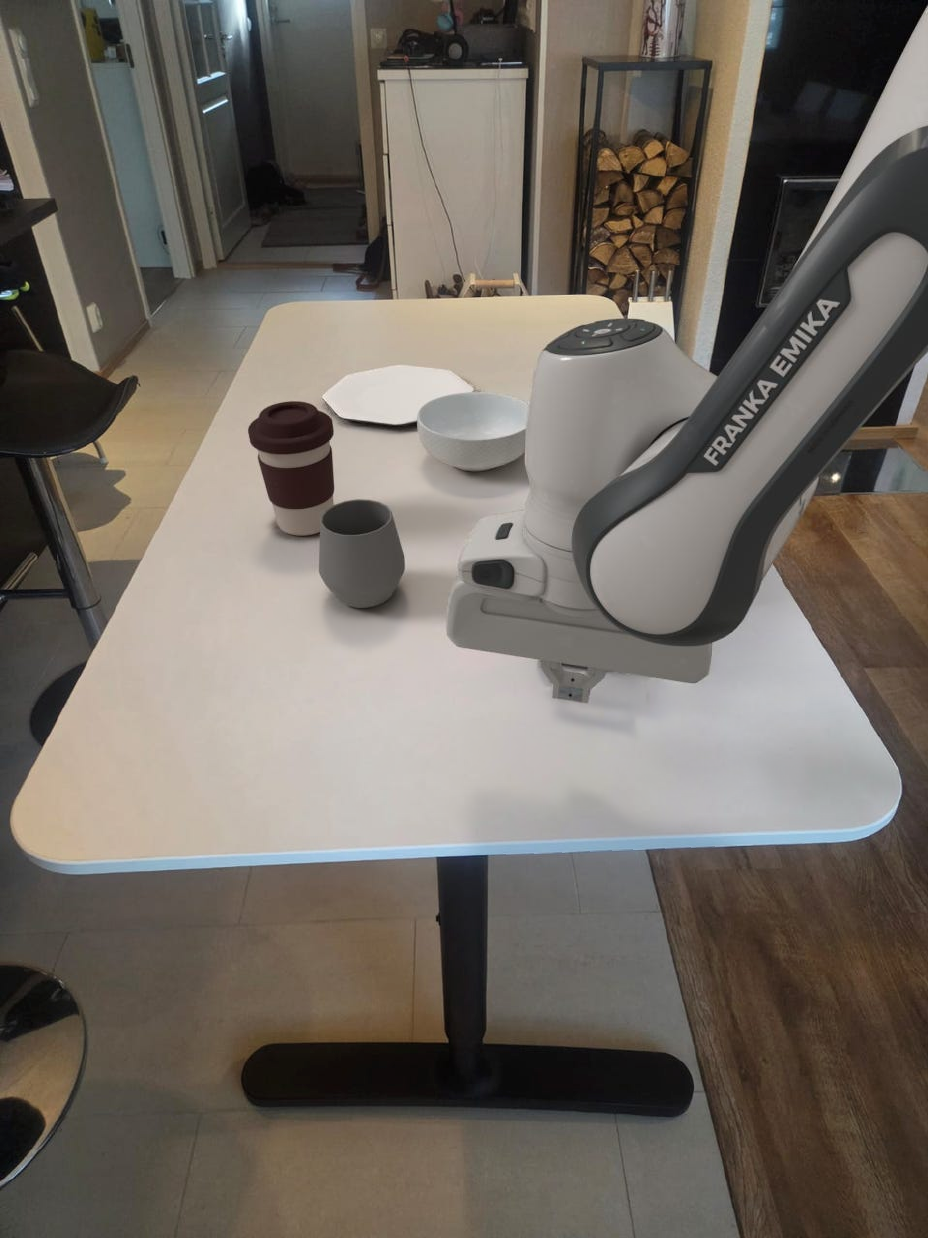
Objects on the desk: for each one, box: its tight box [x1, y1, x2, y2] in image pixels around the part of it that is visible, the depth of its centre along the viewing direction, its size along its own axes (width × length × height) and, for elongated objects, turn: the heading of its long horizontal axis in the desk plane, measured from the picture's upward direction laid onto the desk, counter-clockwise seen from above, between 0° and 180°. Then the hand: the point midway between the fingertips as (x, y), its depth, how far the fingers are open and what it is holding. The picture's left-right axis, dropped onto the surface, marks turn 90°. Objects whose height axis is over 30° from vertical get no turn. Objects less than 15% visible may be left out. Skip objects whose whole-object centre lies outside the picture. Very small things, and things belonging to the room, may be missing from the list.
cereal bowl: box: [416, 391, 528, 472], centre depth 114 cm, size 17×17×7 cm
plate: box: [321, 364, 475, 427], centre depth 133 cm, size 24×24×2 cm
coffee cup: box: [247, 400, 335, 536], centre depth 98 cm, size 10×10×15 cm
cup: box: [318, 498, 406, 609], centre depth 87 cm, size 10×9×10 cm
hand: (571, 696), depth 66 cm, fingers closed
